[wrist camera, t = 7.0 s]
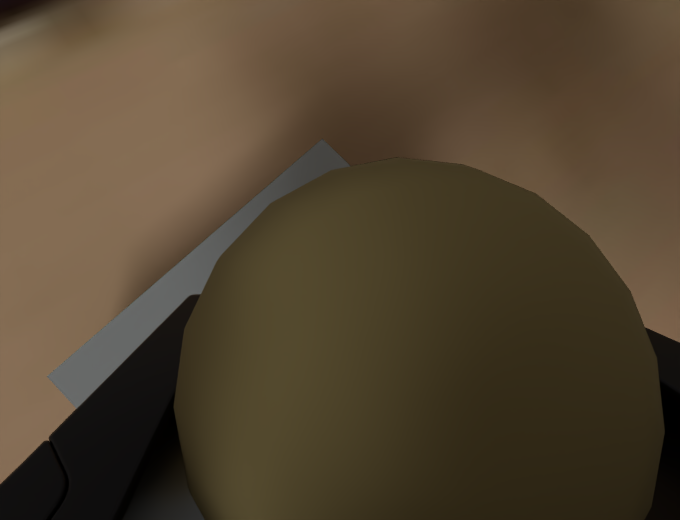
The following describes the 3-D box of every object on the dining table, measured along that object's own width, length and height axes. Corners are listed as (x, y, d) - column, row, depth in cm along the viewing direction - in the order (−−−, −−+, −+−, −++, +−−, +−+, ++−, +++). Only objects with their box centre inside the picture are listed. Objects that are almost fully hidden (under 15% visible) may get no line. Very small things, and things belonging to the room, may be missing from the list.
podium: (509, 372, 21) (562, 371, 17) (312, 610, 18) (322, 676, 14) (314, 180, 22) (322, 138, 18) (94, 376, 19) (47, 376, 15)
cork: (440, 307, 16) (783, 149, 5) (408, 508, 14) (815, 914, 3) (257, 263, 15) (203, -8, 5) (203, 464, 14) (-74, 766, 3)
